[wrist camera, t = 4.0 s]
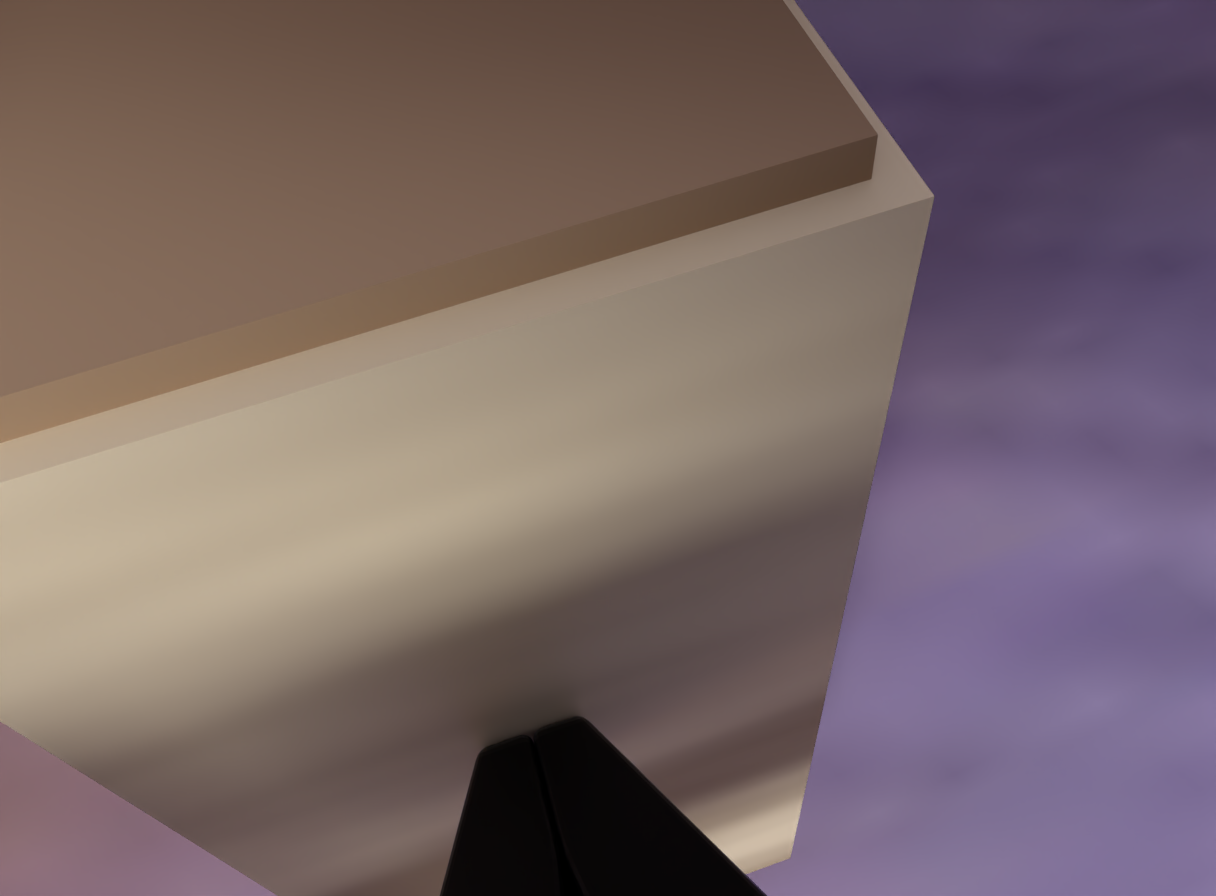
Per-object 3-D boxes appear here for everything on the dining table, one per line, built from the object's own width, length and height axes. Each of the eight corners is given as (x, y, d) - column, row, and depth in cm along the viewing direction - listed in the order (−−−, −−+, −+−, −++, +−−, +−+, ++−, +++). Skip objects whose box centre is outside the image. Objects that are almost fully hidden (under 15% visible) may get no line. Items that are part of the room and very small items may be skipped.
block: (790, 857, 15) (944, 152, 5) (429, 991, 14) (-308, 529, 4) (663, 547, 18) (582, -332, 7) (357, 649, 17) (-193, -142, 7)
